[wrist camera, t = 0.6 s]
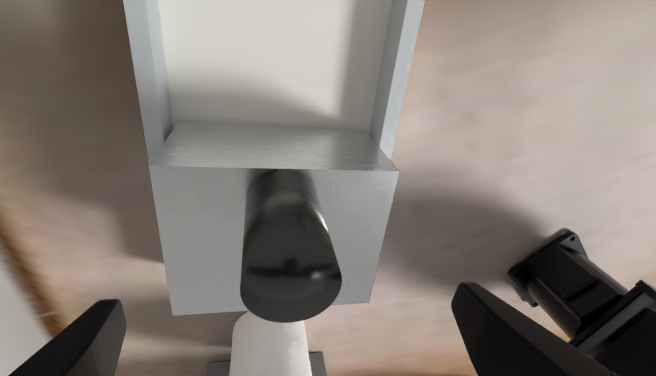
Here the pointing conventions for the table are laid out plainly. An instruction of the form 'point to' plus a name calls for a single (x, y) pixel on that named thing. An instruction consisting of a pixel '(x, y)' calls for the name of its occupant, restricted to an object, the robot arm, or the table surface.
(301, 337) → the white pouch
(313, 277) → the block
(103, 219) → the table surface
